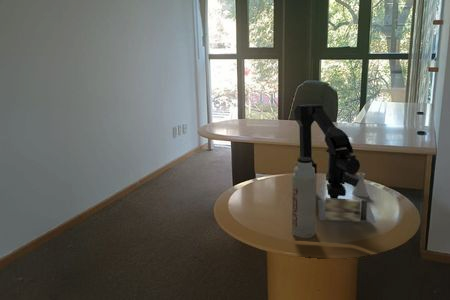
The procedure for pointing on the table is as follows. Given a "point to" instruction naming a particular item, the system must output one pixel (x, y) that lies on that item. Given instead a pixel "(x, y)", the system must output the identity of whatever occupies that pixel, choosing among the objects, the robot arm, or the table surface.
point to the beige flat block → (341, 205)
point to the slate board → (322, 217)
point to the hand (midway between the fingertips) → (334, 204)
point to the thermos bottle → (304, 198)
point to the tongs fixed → (348, 214)
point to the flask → (360, 187)
